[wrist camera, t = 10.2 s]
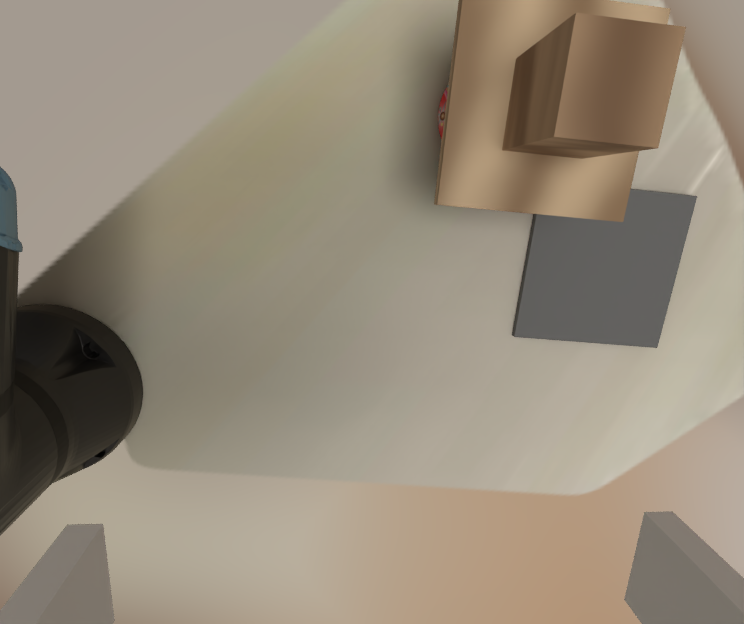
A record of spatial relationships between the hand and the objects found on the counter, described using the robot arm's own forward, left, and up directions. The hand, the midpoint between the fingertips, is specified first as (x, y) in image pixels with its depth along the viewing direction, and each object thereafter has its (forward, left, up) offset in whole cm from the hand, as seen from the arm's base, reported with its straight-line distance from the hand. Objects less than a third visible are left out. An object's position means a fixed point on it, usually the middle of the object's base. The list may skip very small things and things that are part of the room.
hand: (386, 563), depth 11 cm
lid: (+10, +15, -20) cm, 27 cm away
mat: (+22, +4, -31) cm, 38 cm away
